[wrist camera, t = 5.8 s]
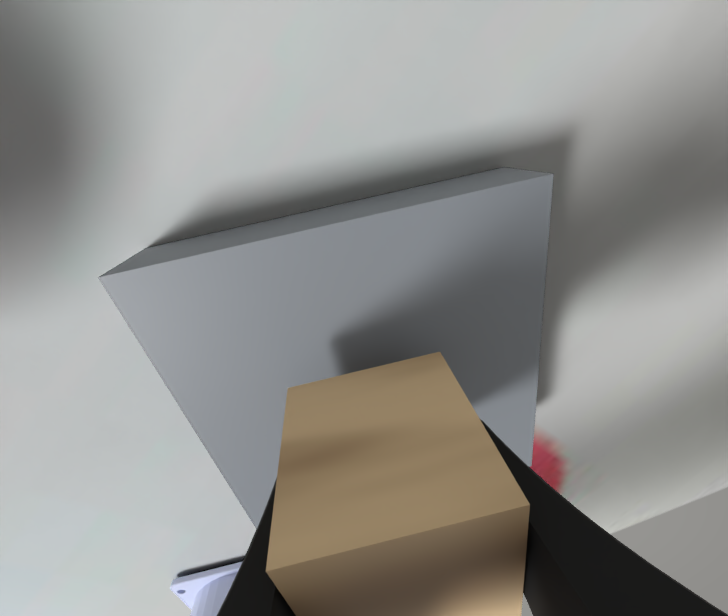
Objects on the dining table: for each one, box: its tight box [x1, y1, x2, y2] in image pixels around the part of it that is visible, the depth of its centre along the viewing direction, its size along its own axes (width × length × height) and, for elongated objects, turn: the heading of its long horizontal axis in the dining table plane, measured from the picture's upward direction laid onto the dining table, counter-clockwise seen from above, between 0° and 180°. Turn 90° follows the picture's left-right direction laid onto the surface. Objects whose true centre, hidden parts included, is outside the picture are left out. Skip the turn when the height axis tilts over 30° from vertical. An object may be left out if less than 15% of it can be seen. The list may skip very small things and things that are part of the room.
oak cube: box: [266, 352, 530, 616], centre depth 9 cm, size 5×5×5 cm
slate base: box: [98, 167, 554, 529], centre depth 14 cm, size 14×14×3 cm
